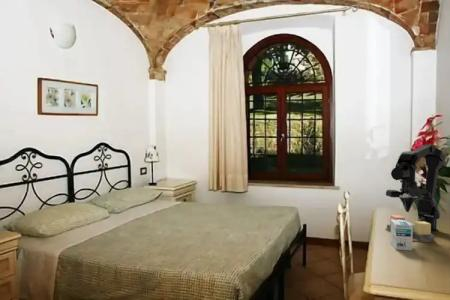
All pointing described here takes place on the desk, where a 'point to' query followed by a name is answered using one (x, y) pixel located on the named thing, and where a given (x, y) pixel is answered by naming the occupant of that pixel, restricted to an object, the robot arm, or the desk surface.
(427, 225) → the yellow cube
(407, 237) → the light bulb box
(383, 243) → the desk surface
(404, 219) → the peach cube
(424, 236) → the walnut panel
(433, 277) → the desk surface
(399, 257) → the desk surface
